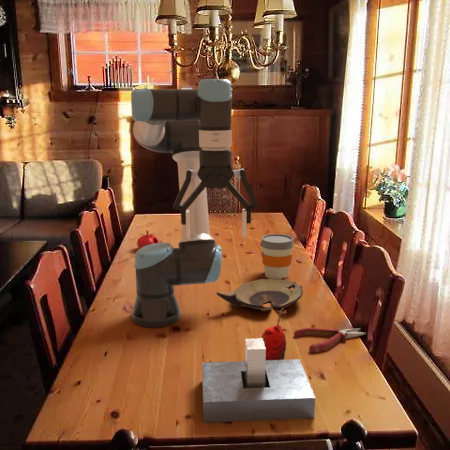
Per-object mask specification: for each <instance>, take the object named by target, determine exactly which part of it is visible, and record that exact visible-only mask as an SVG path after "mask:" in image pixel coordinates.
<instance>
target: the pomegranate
mask: <svg viewBox="0 0 450 450" xmlns="http://www.w3.org/2000/svg"><path fill="white" fill-rule="evenodd" d="M145 232H146V233H145V234H142V233H140V234H139V236H140V237H139V238H138V239H137V242H136V246H137V248H138V250H139V249H140V248H142V247H144V246H147V245H150V244H155V243H160V241H159V239H158V237H157V236H155V235H156V234H155V233H149V230H145Z"/></svg>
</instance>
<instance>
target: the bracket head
mask: <svg viewBox="0 0 450 450" xmlns="http://www.w3.org/2000/svg"><path fill="white" fill-rule="evenodd" d="M201 369H202V371H201V373H202V374H201V375H202V376H201V377H202V378H201V379H202V410H203V411H202V414H203V419H202V420H203V424H204V423H222V422H223V423H225V422H226V423H227V422H249V421H250V422H251V421H252V422H253V421H272V420H273V421H275V420H277V421H278V420H297V419H298V420H299V419H315V411H316V410H315V409H316V396H315V393H314V392H313V388H312V387H311V384H310V381H309V379H308V377H307V374H306V371H305V369H304V366H303V364H302V362H301V359H300V358H299V359H283V360H266V365H265V388H245V360H243V361H241V360H240V361H239V360H238V361H217V362H216V361H215V362H214V361H212V362H211V361H210V362H201Z"/></svg>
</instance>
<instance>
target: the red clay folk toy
mask: <svg viewBox="0 0 450 450" xmlns="http://www.w3.org/2000/svg"><path fill="white" fill-rule="evenodd" d="M283 310H284V311H283ZM276 311H277V312H278V313H279V316H278V318H277V319H276V321H277V322H276V325H272V326H269V327H267V328H265V329H264V332H263V333H262V335H261V337H260V338H263V341H264V344H265V348H266V360H285V356H286V350H287V339H286V333H285V332H284V330H283V328H282V326H281V325H280V324H279V323H280V322H281V320H280V319H281V315H282V314H287V310H285V307H283V308H281V310H278V309H276Z"/></svg>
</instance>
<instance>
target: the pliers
mask: <svg viewBox="0 0 450 450" xmlns="http://www.w3.org/2000/svg"><path fill="white" fill-rule="evenodd" d="M360 330H361V327H360V328H345V329H342V330H340V329H338V327H334V329H330V328H329V329H328V328H314V327H305V328H299V329H296V330H294V333H293V336H294V338H300V337H304V336H317V337H319V336H320V337H328V336H329V339H328V340H326V341H324V342H319V343H313V344H310V345H309V347H308V350H309V352H310V353H312V354H315V353H316V354H317V353H321V352H326V351H328V350H330V349H332V348H333V347H335V345H338V344H339V343H340V342H343V343H346V342H347V339H351V338H357V337H359V336H364V335H366V334H367V333H366V332H363V331H360Z"/></svg>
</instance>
